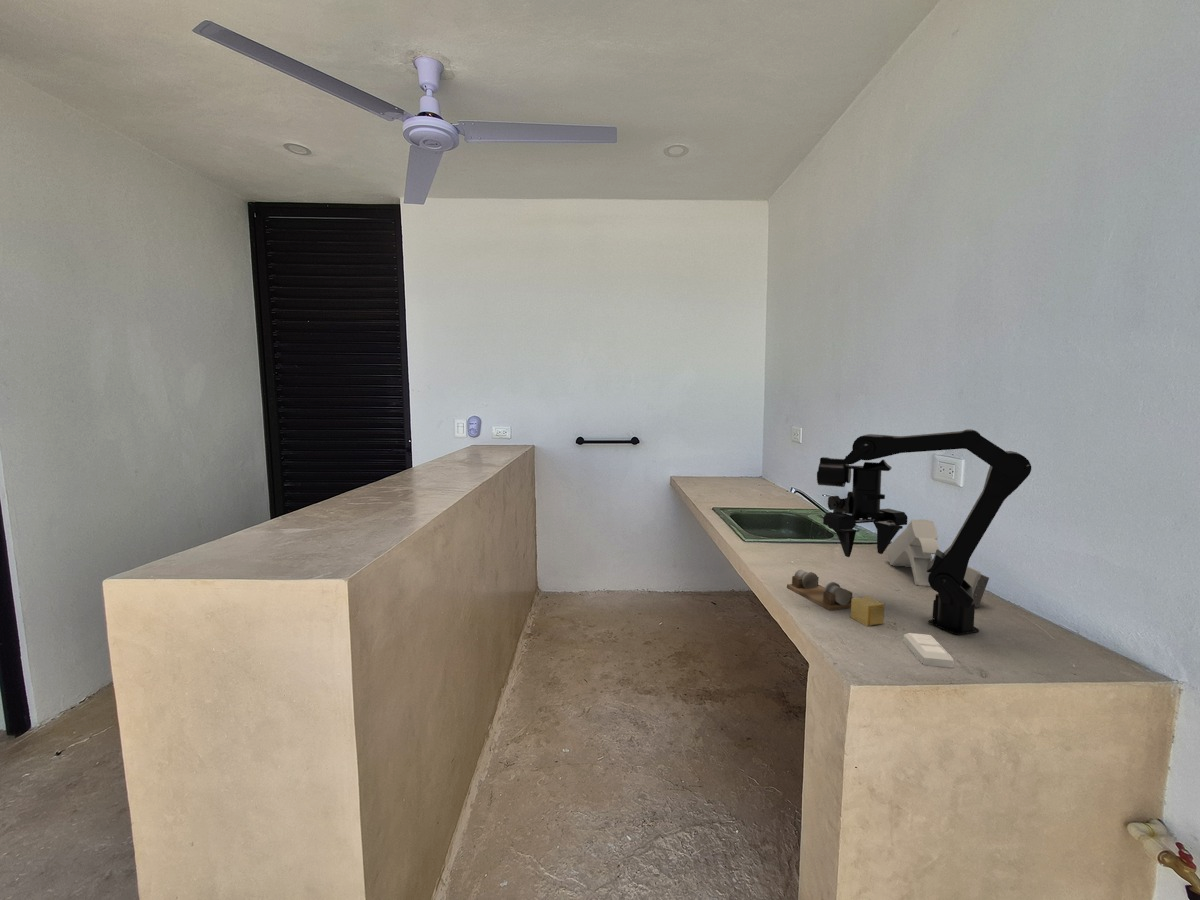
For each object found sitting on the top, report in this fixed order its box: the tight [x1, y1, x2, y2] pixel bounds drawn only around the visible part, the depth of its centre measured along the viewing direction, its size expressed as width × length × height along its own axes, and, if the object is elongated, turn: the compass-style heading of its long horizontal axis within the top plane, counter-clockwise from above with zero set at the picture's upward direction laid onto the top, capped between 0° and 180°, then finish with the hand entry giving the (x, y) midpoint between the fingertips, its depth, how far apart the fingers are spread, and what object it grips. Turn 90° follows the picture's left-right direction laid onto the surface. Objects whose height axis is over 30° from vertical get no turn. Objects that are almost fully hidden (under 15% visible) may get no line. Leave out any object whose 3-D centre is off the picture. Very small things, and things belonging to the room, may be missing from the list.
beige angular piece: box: [886, 519, 940, 587], centre depth 134 cm, size 6×16×20 cm
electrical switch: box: [964, 566, 990, 609], centre depth 117 cm, size 9×5×9 cm, turn 0°
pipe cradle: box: [786, 569, 853, 611], centre depth 119 cm, size 15×8×5 cm, turn 17°
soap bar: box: [903, 632, 955, 669], centre depth 92 cm, size 5×9×3 cm, turn 168°
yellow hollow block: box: [850, 595, 886, 627], centre depth 106 cm, size 5×4×4 cm
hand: (863, 555), depth 112 cm, fingers open, 9 cm apart
